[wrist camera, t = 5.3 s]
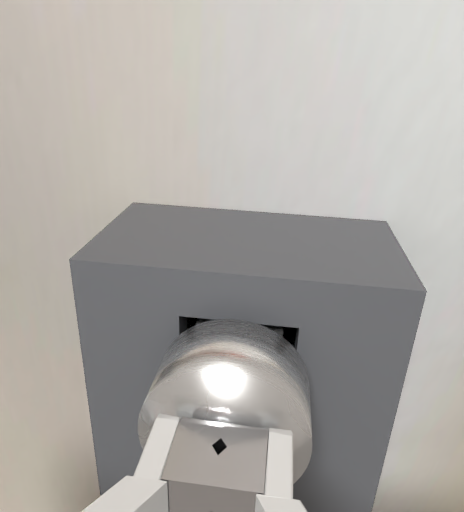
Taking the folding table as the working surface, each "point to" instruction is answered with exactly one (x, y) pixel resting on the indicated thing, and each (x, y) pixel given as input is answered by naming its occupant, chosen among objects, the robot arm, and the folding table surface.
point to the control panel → (257, 311)
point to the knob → (234, 382)
